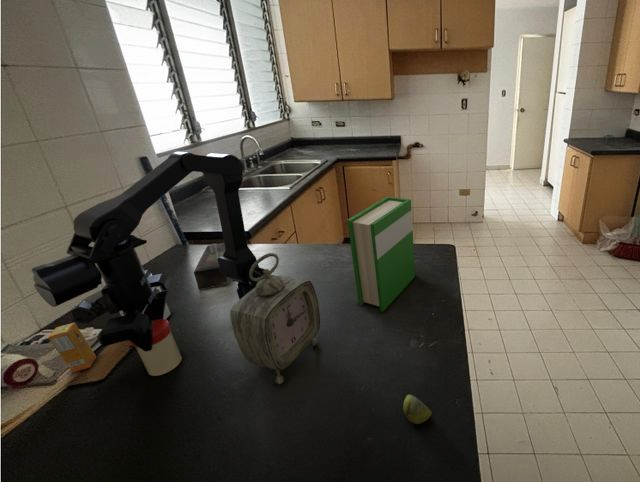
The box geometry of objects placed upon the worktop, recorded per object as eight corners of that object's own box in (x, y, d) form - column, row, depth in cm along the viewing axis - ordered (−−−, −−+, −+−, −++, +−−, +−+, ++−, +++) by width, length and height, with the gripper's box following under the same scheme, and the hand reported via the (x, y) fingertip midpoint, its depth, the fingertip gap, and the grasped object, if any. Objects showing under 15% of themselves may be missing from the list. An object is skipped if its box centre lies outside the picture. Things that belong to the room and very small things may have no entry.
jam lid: (174, 321, 72) (172, 315, 71) (166, 341, 66) (163, 335, 66) (138, 330, 70) (135, 324, 69) (127, 351, 64) (123, 345, 64)
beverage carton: (237, 256, 115) (232, 238, 112) (229, 285, 98) (223, 266, 96) (211, 260, 112) (205, 243, 110) (198, 292, 96) (191, 272, 93)
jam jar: (185, 350, 75) (172, 318, 71) (176, 371, 69) (161, 337, 66) (154, 357, 73) (139, 325, 69) (142, 379, 68) (125, 345, 64)
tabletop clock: (280, 393, 63) (248, 281, 53) (244, 381, 66) (207, 273, 56) (325, 340, 75) (306, 242, 66) (293, 332, 78) (270, 236, 69)
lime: (404, 406, 60) (403, 386, 58) (432, 406, 59) (431, 386, 57) (403, 430, 55) (401, 409, 53) (432, 430, 55) (431, 409, 53)
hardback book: (383, 311, 84) (373, 224, 75) (359, 304, 87) (347, 219, 78) (415, 276, 98) (410, 199, 89) (393, 271, 102) (387, 196, 92)
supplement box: (77, 362, 73) (55, 326, 69) (97, 357, 74) (77, 321, 70) (69, 374, 70) (46, 336, 66) (90, 368, 71) (69, 331, 67)
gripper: (93, 261, 68) (123, 322, 74) (37, 316, 52) (81, 388, 58) (158, 249, 71) (182, 308, 77) (125, 297, 55) (158, 367, 61)
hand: (153, 339), depth 68 cm, fingers closed on jam lid, 6 cm apart
